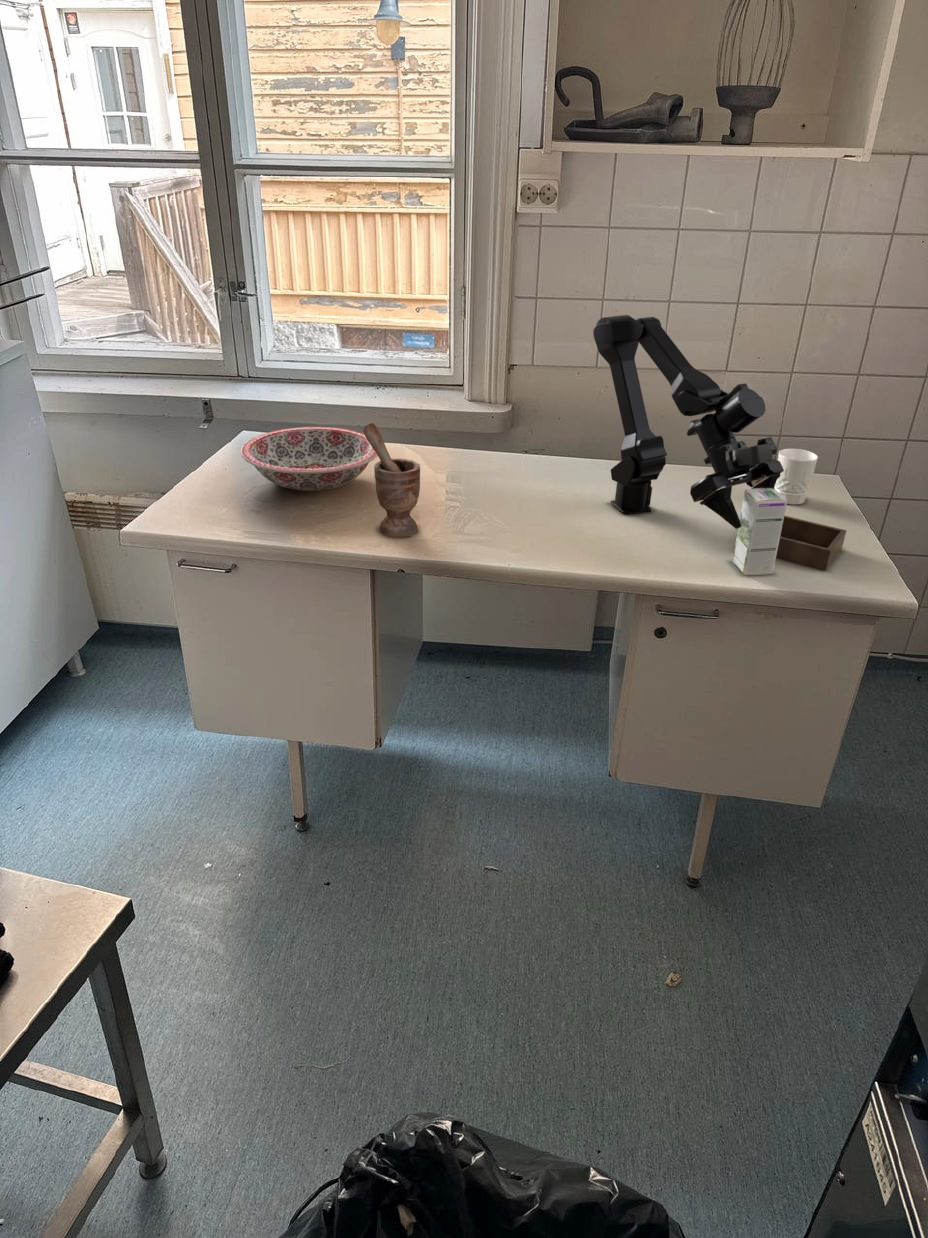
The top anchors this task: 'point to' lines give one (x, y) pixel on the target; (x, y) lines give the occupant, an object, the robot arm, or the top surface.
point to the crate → (810, 534)
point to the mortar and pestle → (394, 487)
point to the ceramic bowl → (309, 456)
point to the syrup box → (759, 531)
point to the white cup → (795, 474)
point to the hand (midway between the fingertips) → (756, 522)
